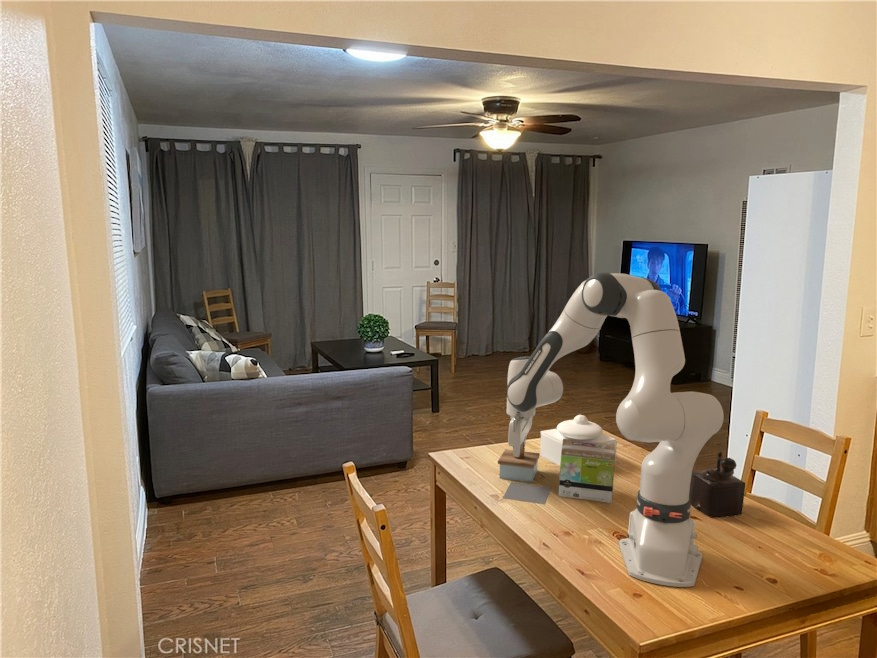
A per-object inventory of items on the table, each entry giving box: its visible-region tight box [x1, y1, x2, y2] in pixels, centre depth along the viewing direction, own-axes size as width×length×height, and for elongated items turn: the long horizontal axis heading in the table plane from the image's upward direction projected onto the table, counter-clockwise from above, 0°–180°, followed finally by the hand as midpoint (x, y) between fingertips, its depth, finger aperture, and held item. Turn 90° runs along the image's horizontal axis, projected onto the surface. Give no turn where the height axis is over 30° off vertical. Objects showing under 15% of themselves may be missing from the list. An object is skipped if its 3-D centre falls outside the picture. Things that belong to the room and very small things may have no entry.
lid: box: [497, 446, 541, 469], centre depth 195 cm, size 11×11×4 cm
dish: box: [499, 460, 539, 483], centre depth 196 cm, size 10×10×5 cm
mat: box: [502, 481, 552, 505], centre depth 182 cm, size 12×12×1 cm
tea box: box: [558, 439, 616, 504], centre depth 182 cm, size 15×10×15 cm, turn 76°
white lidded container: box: [539, 414, 618, 467], centre depth 208 cm, size 18×18×16 cm
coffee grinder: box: [689, 451, 746, 518], centre depth 171 cm, size 16×11×18 cm
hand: (519, 451), depth 195 cm, fingers open, 8 cm apart
